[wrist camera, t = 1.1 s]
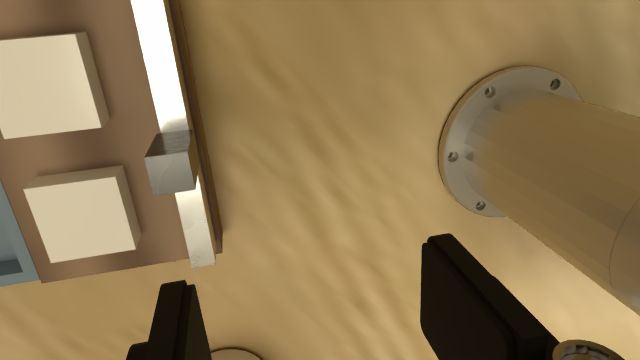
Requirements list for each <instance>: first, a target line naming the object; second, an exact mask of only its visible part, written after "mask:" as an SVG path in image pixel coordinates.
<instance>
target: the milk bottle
mask: <svg viewBox="0 0 640 360" xmlns="http://www.w3.org/2000/svg"><path fill="white" fill-rule="evenodd" d="M211 357H212V360H260V359H259V358H258V357H257V356H255V355H254V354H252V353H249V352H247V351H243V350H239V349H227V350H220V351H216V352H213V353H211Z"/></svg>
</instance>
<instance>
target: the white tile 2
mask: <svg viewBox="0 0 640 360" xmlns="http://www.w3.org/2000/svg"><path fill="white" fill-rule="evenodd" d="M23 190H24V193H25V196H26V198H27V201H28V203H29V206H30V209H31V211H32V214H33V217H34V219H35V222H36V225H37V227H38V230H39V232H40V235H41V238H42V240H43V243H44V246H45V248H46V251H47V254H48V256H49V259H50V262H51V263H55V262H61V261H68V260H74V259H80V258H86V257H92V256H98V255H104V254H110V253H117V252H123V251H129V250H135V249H136V248H137V245H138V242H139V239H140V236H141V231H140V227H139V223H138V220H137V216H136V212H135V209H134V205H133V201H132V198H131V194H130V190H129V187H128V183H127V179H126V176H125V172H124V168H123V165H120V166H113V167H105V168H98V169H90V170H83V171H75V172H68V173H60V174H53V175H45V176H38V177H36V178H35V179H34V180H33V181H32V182H31V183H30V184H29V185H27V186H26V187H25V188H24V189H23Z"/></svg>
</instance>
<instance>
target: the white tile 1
mask: <svg viewBox="0 0 640 360" xmlns="http://www.w3.org/2000/svg"><path fill="white" fill-rule="evenodd" d="M109 119H110V117H109V113H108V110H107V106H106V102H105V99H104V95H103V91H102V88H101V84H100V80H99V77H98V73H97V69H96V66H95V62H94V58H93V55H92V51H91V47H90V44H89V40H88V36H87V32H77V33H65V34H54V35H42V36H31V37H19V38H8V39H0V129H1V132H2V135H3V137H4V139H11V138H19V137H27V136H36V135H44V134H52V133H61V132H69V131H77V130H86V129H94V128H102V127H103V126H104V125H105V124H106V122H107V121H108V120H109Z"/></svg>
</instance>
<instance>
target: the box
mask: <svg viewBox="0 0 640 360" xmlns="http://www.w3.org/2000/svg"><path fill="white" fill-rule="evenodd" d="M36 280H40V277H39V275H38V272H37V270H36V267H35V265H34V262H33V260H32V257H31V255H30V252H29V250H28V247H27V245H26V242H25V240H24V237H23V235H22V232H21V229H20V227H19V224H18V222H17V219H16V217H15V214H14V212H13V209H12V207H11V204H10V202H9V199H8V197H7V194H6V192H5V189H4V187H3V184H2V182H1V179H0V286H6V285H12V284H18V283H24V282H30V281H36Z"/></svg>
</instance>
